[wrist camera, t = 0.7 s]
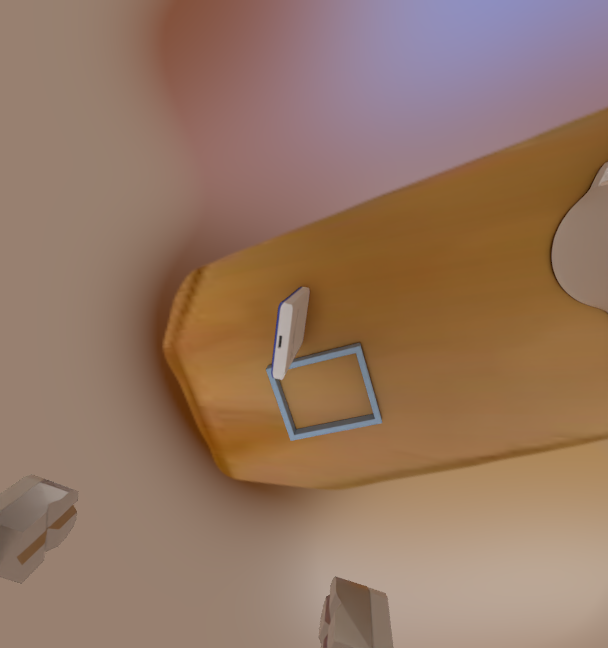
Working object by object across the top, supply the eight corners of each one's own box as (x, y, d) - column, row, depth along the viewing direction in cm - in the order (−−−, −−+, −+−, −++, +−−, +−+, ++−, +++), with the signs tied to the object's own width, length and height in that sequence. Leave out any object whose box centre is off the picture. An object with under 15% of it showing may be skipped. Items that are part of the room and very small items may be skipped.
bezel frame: (360, 342, 44) (360, 345, 43) (381, 417, 47) (382, 423, 45) (268, 365, 47) (265, 369, 46) (292, 434, 49) (290, 440, 48)
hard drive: (291, 343, 46) (269, 377, 34) (299, 286, 44) (278, 301, 32) (302, 345, 46) (284, 380, 34) (310, 287, 44) (293, 304, 32)
